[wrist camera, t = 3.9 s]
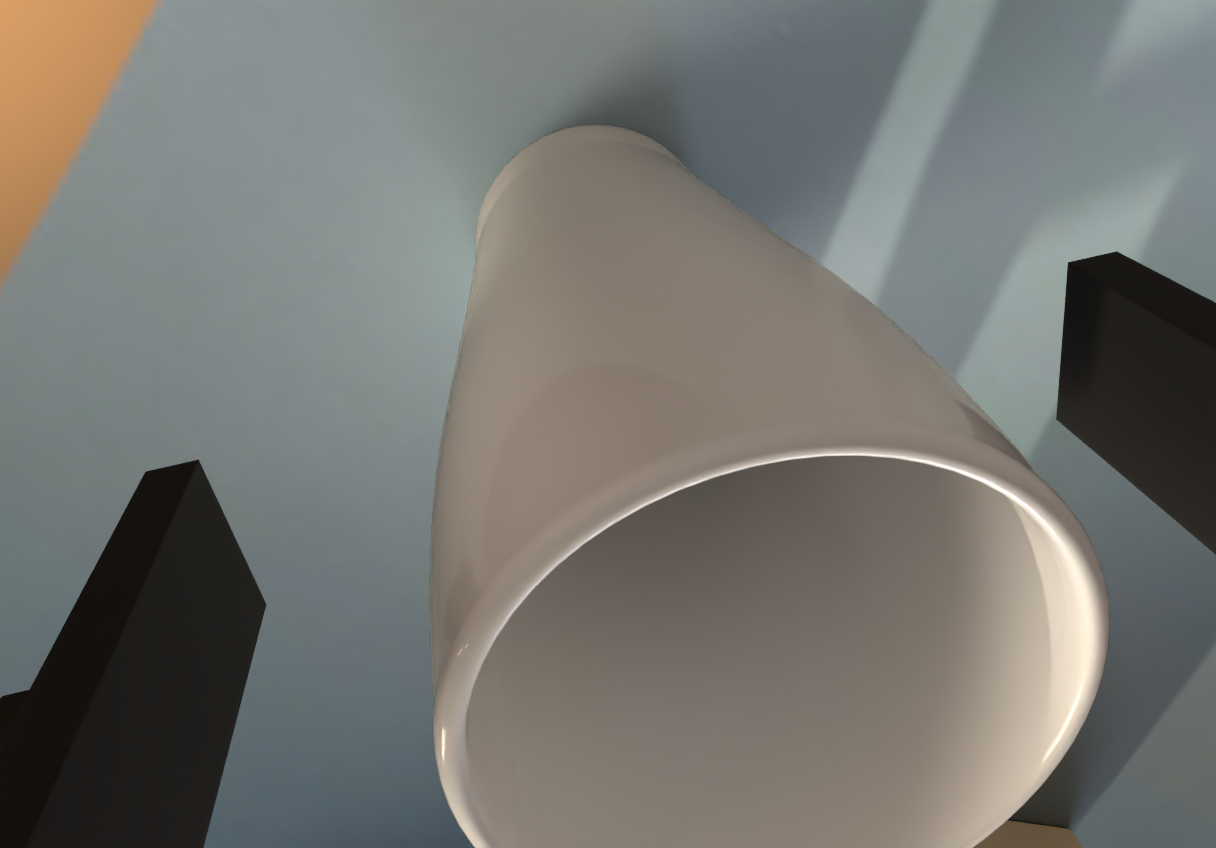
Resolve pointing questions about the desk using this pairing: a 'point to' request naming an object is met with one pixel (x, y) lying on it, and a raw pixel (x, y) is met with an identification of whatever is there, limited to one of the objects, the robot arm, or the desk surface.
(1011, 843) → the scale
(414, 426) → the desk surface
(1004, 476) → the drinking glass
